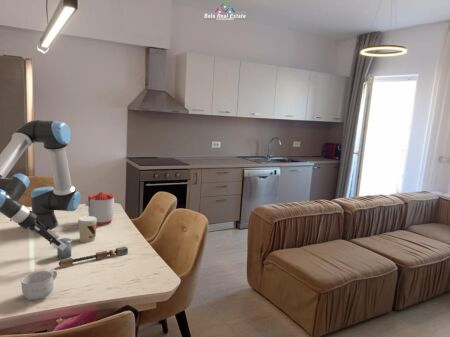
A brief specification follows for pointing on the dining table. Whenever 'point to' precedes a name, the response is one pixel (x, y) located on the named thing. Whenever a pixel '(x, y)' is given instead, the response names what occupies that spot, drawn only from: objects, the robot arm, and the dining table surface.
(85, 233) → the coffee cup
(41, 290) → the teacup
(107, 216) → the citrus juicer
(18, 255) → the dining table surface
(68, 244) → the dome-topped knob
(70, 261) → the cord rig
